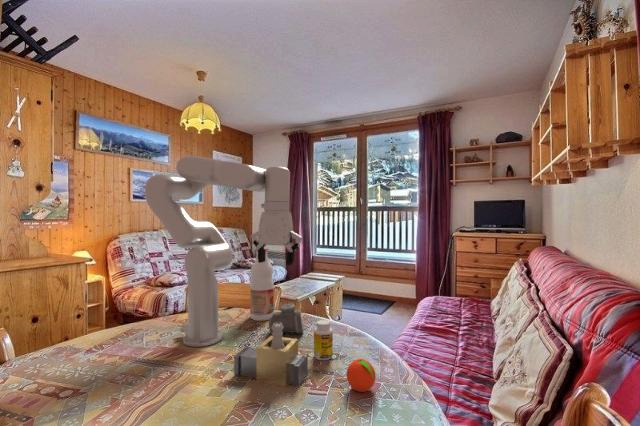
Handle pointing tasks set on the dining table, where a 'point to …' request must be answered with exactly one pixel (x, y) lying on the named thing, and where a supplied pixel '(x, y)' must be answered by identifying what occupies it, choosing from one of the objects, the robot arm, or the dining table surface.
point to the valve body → (273, 363)
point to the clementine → (361, 375)
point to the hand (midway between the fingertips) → (275, 263)
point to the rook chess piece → (277, 336)
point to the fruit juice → (261, 290)
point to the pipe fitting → (288, 319)
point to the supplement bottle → (323, 340)
